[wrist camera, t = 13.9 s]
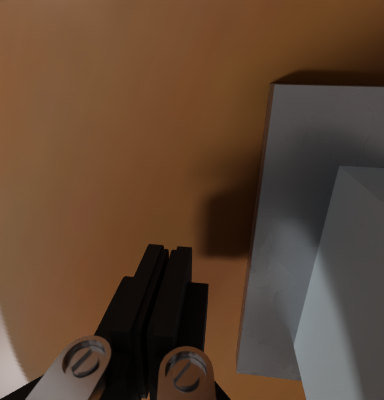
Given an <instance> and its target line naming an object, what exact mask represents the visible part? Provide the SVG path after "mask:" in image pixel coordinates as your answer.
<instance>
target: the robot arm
mask: <svg viewBox="0 0 384 400" xmlns="http://www.w3.org/2000/svg"><path fill="white" fill-rule="evenodd" d="M191 280H192V247H180V246H178V247H177V250H172V251H171V254H170V257H169V251H168V249H164V246H163V245H155V244H149V245H148V247H147V249H146V251H145V253H144V256H143V258H142V260H141V262H140V264H139V267H138V269H137V271H136V273H135V275H134V277H128V276H125V277H124V278H123V279H122V281H121V283H120V285H119V287H118V289H117V291H116V293H115V295H114V297H113V299H112V301H111V303H110V304H109V306H108V308H107V310H106V312H105V314H104V316H103V318H102V320H101V322H100V324H99V326H98V328H97V330H96V332H95V334H94V336H93V335H90V336H84V337H81V338H79V339H76V340H75V341H73V342H72V343H70V344H69V345H67V347H66V348H65V349H64V350H63V351H62V352H61V353H60V355H59V356H58V357H57V358H56V360H55V361H54V362H53V364H52V365H51V366H50V368H49V369H48V370H47V372H46V373H45V374H44V375H42V376H41V377H39V378H37V379H35V380H33V381H32V382H30V383H28V384H26V385H25V386H23V387H21V388H19V389H17V390H16V391H14V392H12V393H10V394H9V395H7V396H5V397H3V398H1V399H0V400H141V398H147V397H148V393H150V400H231V399H230V398H229V397H228V396H227V395H226V394H225V392H224V391H223V390H222V389H221V388H220V386H219V385H218V384H217V383H216V382H215V381H214V373H213V367H212V364H211V361H210V360H209V358H208V356H207V355H206V354H205V353H204V343H205V331H206V319H207V304H208V284H204V283H193V282H191Z"/></svg>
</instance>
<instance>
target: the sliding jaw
mask: <svg viewBox="0 0 384 400" xmlns="http://www.w3.org/2000/svg"><path fill="white" fill-rule="evenodd" d="M294 350H295V354H296V358H297V362H298V366H299V371H300V375H301V379H302V383H303V387H304V392H305V396H306V400H384V168H373V167H354V166H339V169H338V173H337V177H336V180H335V184H334V188H333V192H332V196H331V200H330V204H329V208H328V212H327V216H326V220H325V224H324V228H323V232H322V236H321V240H320V244H319V247H318V251H317V255H316V259H315V263H314V267H313V271H312V275H311V279H310V283H309V287H308V291H307V295H306V299H305V303H304V307H303V311H302V314H301V318H300V322H299V326H298V330H297V334H296V338H295V342H294Z"/></svg>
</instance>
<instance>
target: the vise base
mask: <svg viewBox="0 0 384 400" xmlns="http://www.w3.org/2000/svg"><path fill="white" fill-rule="evenodd" d="M339 166H354V167H373V168H384V86H369V85H326V84H283V83H270V90H269V97H268V105H267V113H266V121H265V129H264V137H263V145H262V153H261V161H260V169H259V176H258V184H257V192H256V200H255V208H254V216H253V224H252V232H251V240H250V248H249V255H248V263H247V271H246V279H245V287H244V295H243V303H242V311H241V319H240V327H239V334H238V342H237V350H236V373H243V374H251V375H259V376H267V377H275V378H283V379H291V380H299V381H302V379H301V375H300V371H299V366H298V362H297V358H296V354H295V350H294V342H295V338H296V334H297V330H298V326H299V322H300V318H301V314H302V311H303V307H304V303H305V299H306V295H307V291H308V287H309V283H310V279H311V275H312V271H313V267H314V263H315V259H316V255H317V251H318V247H319V244H320V240H321V236H322V232H323V228H324V224H325V220H326V216H327V212H328V208H329V204H330V200H331V196H332V192H333V188H334V184H335V180H336V177H337V173H338V169H339Z"/></svg>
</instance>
